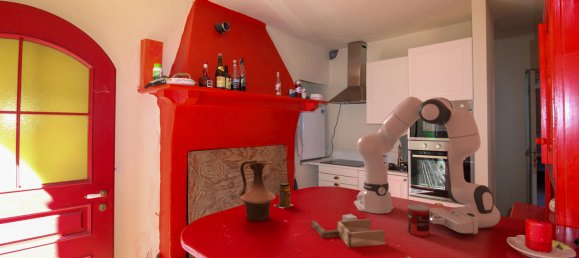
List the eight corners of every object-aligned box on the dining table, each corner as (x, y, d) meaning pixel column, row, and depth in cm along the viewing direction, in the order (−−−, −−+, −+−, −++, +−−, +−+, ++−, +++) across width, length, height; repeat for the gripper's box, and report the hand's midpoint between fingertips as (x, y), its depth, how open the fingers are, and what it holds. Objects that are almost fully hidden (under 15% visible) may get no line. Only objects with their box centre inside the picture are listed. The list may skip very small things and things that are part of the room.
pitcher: (236, 224, 124) (235, 162, 124) (241, 212, 141) (240, 157, 141) (275, 223, 125) (274, 161, 124) (276, 211, 142) (275, 157, 141)
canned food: (412, 228, 117) (412, 202, 117) (432, 233, 111) (432, 206, 111) (404, 233, 112) (404, 206, 112) (425, 239, 106) (425, 210, 106)
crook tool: (311, 225, 122) (311, 221, 122) (325, 224, 124) (325, 219, 124) (322, 238, 109) (322, 233, 109) (339, 236, 110) (339, 231, 110)
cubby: (337, 233, 113) (336, 221, 113) (369, 230, 115) (369, 218, 115) (348, 247, 100) (348, 233, 100) (385, 244, 102) (384, 230, 102)
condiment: (293, 205, 153) (293, 183, 152) (282, 208, 147) (282, 186, 146) (284, 202, 158) (284, 181, 158) (273, 205, 152) (273, 184, 152)
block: (342, 225, 122) (342, 215, 122) (350, 223, 124) (350, 213, 123) (348, 229, 118) (348, 218, 118) (357, 227, 119) (357, 216, 119)
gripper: (442, 203, 125) (414, 205, 123) (481, 218, 105) (448, 221, 103) (442, 217, 125) (414, 219, 123) (481, 235, 105) (448, 238, 103)
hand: (430, 220), depth 112 cm, fingers closed
